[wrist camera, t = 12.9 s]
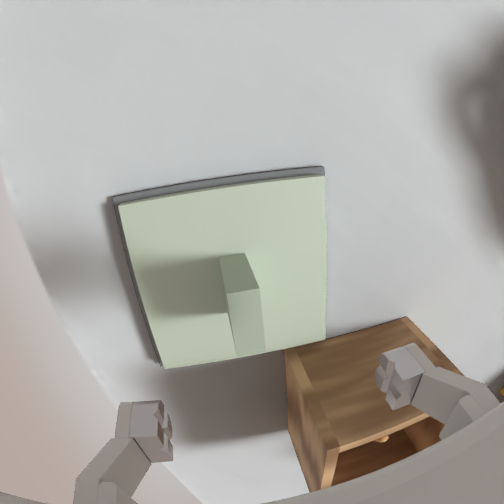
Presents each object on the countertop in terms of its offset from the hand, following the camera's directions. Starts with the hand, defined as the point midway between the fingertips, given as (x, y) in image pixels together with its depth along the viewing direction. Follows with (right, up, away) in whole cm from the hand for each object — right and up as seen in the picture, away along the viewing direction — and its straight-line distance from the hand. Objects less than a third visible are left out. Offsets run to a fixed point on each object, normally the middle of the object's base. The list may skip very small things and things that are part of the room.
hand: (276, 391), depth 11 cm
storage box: (+8, -7, +17) cm, 20 cm away
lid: (-2, +3, +10) cm, 11 cm away
